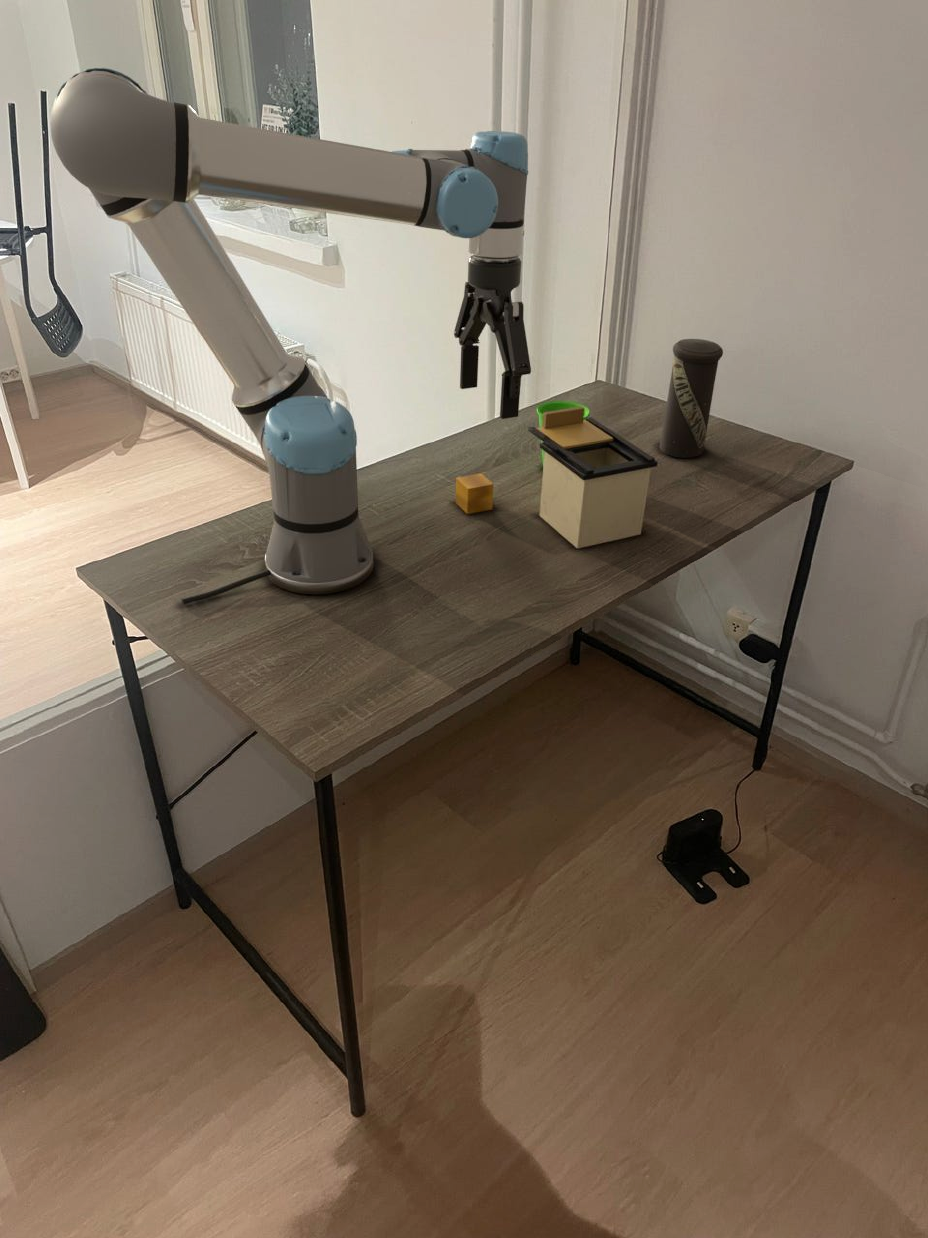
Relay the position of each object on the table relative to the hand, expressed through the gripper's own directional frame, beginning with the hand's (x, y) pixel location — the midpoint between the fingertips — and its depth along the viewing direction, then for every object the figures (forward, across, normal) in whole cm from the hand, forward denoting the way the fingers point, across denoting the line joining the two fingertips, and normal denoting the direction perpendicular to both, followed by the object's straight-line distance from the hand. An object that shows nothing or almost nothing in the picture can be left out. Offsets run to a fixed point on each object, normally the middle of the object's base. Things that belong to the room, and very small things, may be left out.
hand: (488, 401), depth 140 cm
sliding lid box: (+17, -11, -12) cm, 24 cm away
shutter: (+5, -7, -12) cm, 14 cm away
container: (+17, +5, -44) cm, 47 cm away
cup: (+17, +6, -18) cm, 26 cm away
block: (+17, 0, +2) cm, 17 cm away
